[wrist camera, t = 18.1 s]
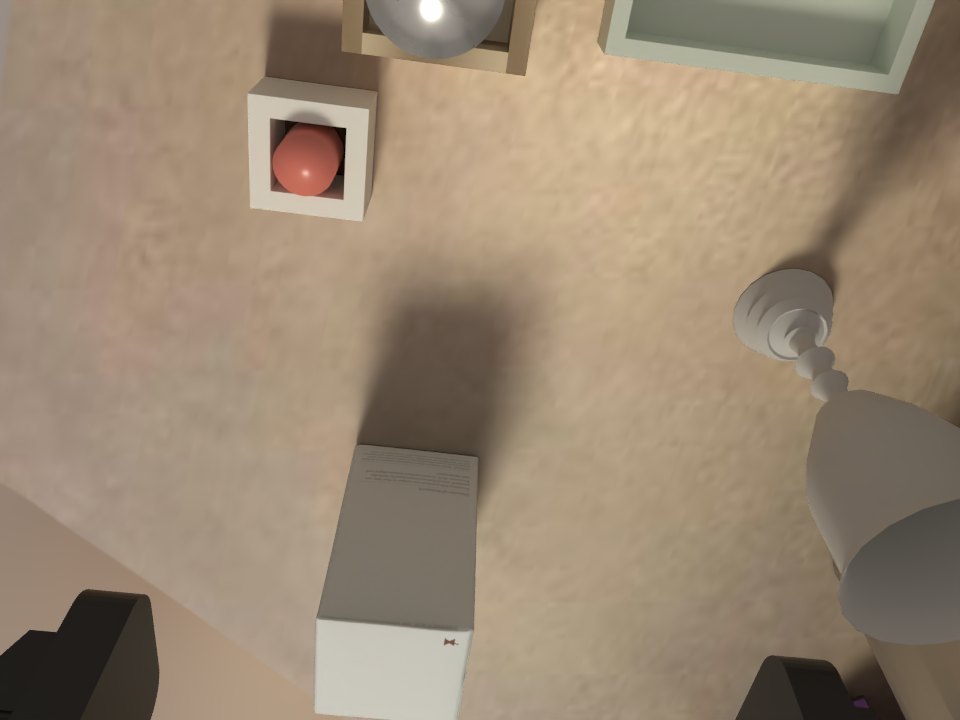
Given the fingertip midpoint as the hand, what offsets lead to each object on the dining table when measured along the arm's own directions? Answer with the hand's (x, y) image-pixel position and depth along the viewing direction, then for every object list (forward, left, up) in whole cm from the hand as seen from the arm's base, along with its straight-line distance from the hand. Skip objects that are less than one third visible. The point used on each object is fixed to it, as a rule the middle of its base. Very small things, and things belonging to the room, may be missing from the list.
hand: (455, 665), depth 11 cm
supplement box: (+1, +24, -30) cm, 39 cm away
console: (+7, +3, -30) cm, 31 cm away
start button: (+7, +3, -29) cm, 30 cm away
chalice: (-17, +9, -30) cm, 36 cm away
